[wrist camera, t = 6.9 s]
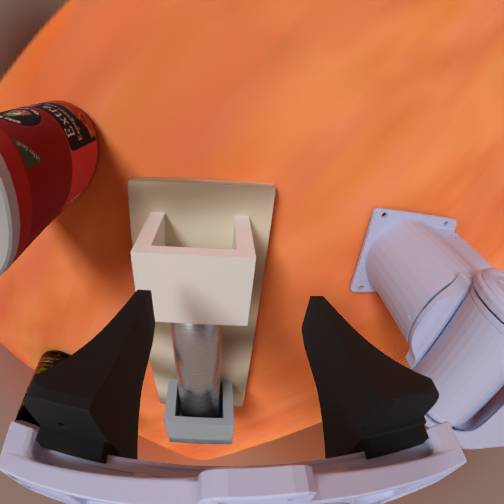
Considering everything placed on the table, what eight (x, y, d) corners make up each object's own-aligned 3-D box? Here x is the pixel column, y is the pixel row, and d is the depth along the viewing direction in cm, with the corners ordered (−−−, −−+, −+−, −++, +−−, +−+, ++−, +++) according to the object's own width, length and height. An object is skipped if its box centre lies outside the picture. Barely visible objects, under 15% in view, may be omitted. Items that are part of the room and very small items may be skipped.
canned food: (117, 115, 17) (22, 153, 8) (86, 214, 21) (14, 307, 11) (34, 88, 15) (-76, 114, 6) (13, 183, 18) (-74, 252, 9)
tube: (170, 252, 22) (160, 286, 18) (226, 255, 22) (227, 289, 19) (182, 396, 31) (180, 426, 28) (218, 397, 32) (219, 428, 28)
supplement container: (34, 356, 29) (7, 423, 20) (56, 340, 27) (25, 416, 19) (73, 387, 32) (54, 452, 23) (100, 374, 31) (81, 449, 22)
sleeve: (150, 212, 20) (130, 252, 15) (248, 216, 21) (256, 258, 16) (154, 272, 23) (140, 320, 18) (242, 276, 23) (247, 325, 19)
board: (131, 177, 20) (127, 181, 19) (273, 183, 21) (276, 188, 20) (161, 396, 33) (160, 403, 32) (242, 400, 34) (242, 406, 33)
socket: (168, 379, 30) (164, 421, 25) (232, 381, 30) (234, 425, 26) (173, 403, 32) (170, 441, 28) (229, 405, 33) (231, 444, 28)
